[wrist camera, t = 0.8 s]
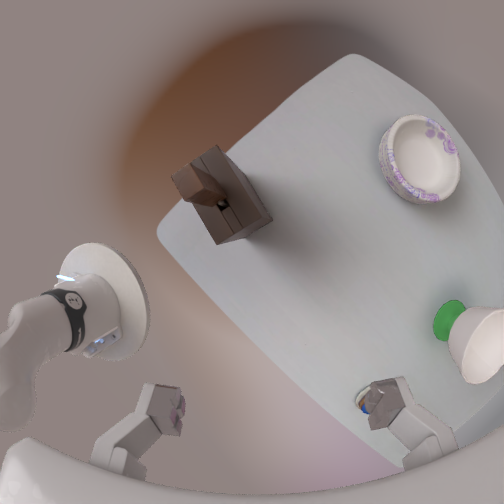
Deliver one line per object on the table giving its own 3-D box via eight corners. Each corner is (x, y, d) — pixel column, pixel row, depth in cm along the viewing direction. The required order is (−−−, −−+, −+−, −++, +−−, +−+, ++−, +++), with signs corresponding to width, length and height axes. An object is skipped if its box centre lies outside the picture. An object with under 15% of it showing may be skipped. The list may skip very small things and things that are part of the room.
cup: (462, 275, 43) (509, 291, 27) (478, 324, 43) (519, 349, 27) (414, 316, 45) (453, 347, 30) (434, 362, 45) (468, 398, 30)
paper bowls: (447, 149, 41) (467, 140, 33) (430, 218, 43) (452, 217, 35) (383, 114, 42) (397, 98, 35) (363, 184, 45) (376, 177, 37)
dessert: (356, 417, 48) (361, 419, 43) (350, 390, 51) (355, 390, 46) (389, 406, 47) (397, 406, 42) (383, 380, 51) (391, 378, 46)
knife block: (243, 172, 47) (216, 144, 30) (272, 220, 47) (262, 217, 30) (215, 190, 48) (174, 173, 31) (243, 238, 48) (216, 245, 31)
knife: (231, 187, 38) (188, 160, 21) (242, 205, 38) (205, 189, 21) (220, 195, 38) (169, 174, 21) (230, 212, 38) (185, 203, 21)
